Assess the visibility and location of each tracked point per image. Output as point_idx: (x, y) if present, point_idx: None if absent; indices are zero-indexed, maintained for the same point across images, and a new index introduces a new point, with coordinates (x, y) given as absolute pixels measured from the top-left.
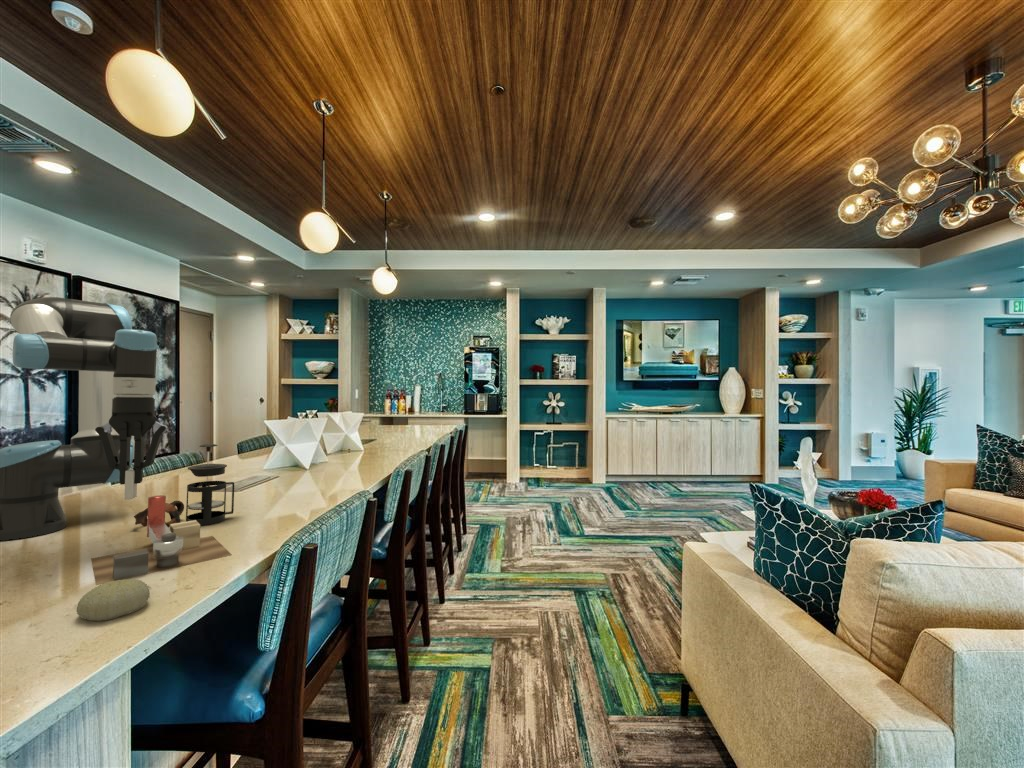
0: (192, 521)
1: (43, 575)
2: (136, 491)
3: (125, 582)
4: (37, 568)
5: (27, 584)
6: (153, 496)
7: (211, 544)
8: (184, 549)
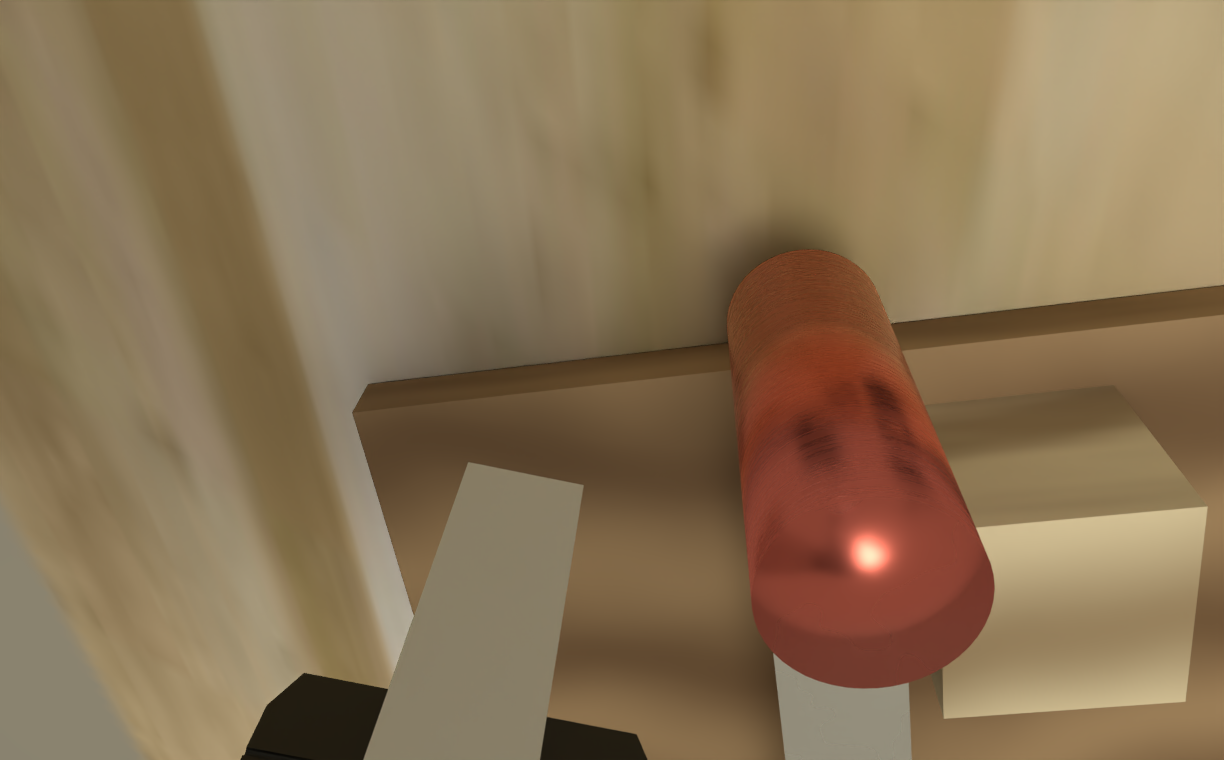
0: (1159, 549)
1: (126, 426)
2: (571, 549)
3: None
4: (6, 228)
5: (108, 548)
6: (824, 538)
7: None
8: None
